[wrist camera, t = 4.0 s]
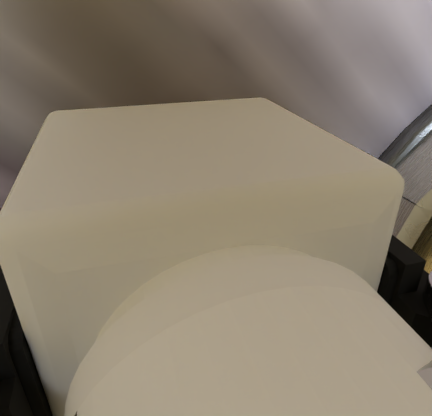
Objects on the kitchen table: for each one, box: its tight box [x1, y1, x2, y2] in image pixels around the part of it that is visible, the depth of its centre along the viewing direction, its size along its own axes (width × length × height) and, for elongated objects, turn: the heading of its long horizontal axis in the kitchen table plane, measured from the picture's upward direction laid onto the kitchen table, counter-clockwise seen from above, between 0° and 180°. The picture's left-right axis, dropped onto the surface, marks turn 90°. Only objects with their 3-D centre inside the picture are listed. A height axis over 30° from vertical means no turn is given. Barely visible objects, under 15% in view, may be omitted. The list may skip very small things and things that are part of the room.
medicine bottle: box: [0, 97, 432, 416], centre depth 9 cm, size 7×7×12 cm
